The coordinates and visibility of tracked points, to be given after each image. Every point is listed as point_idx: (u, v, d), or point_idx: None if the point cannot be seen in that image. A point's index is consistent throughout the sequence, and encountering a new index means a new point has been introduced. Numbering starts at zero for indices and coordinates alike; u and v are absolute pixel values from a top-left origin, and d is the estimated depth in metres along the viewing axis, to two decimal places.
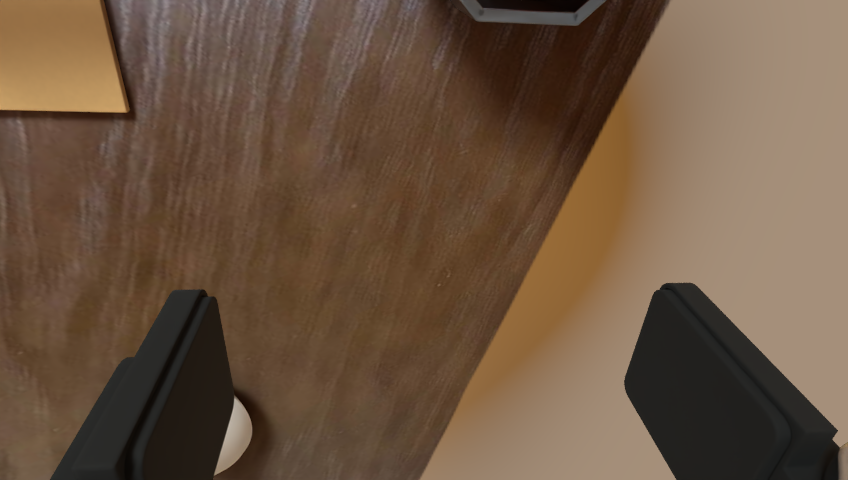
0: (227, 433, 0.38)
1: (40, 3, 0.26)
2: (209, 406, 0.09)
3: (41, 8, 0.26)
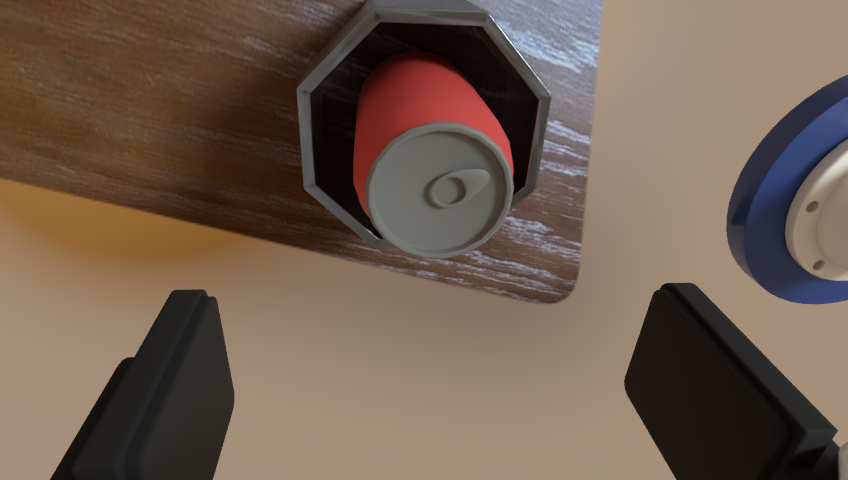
0: None
1: None
2: (209, 406, 0.09)
3: None
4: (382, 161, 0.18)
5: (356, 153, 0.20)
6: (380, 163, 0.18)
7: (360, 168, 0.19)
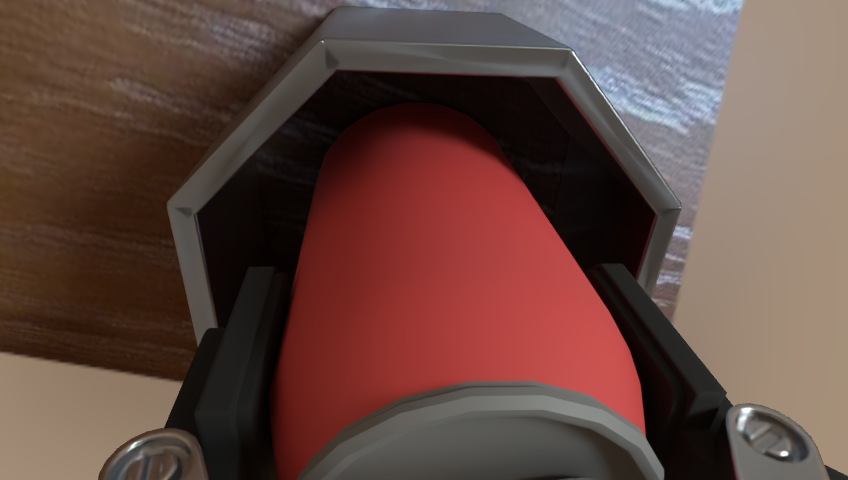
0: None
1: None
2: None
3: None
4: None
5: (272, 391, 0.08)
6: None
7: (275, 446, 0.08)
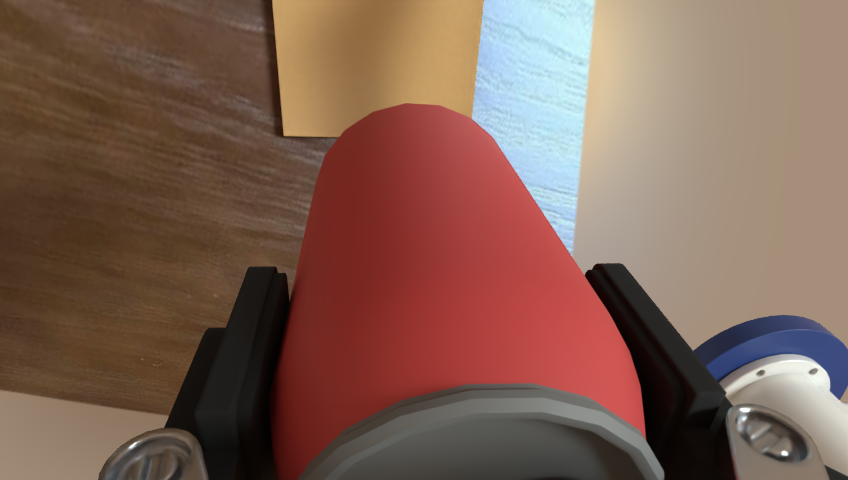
0: None
1: (371, 92, 0.31)
2: None
3: (368, 92, 0.31)
4: None
5: (273, 393, 0.08)
6: None
7: (275, 448, 0.08)
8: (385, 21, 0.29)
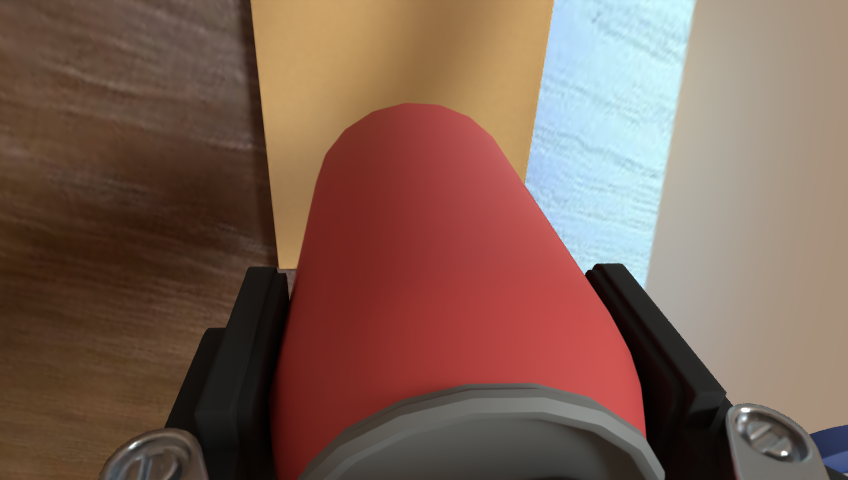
0: None
1: None
2: None
3: None
4: None
5: (272, 393, 0.08)
6: None
7: (275, 448, 0.08)
8: None
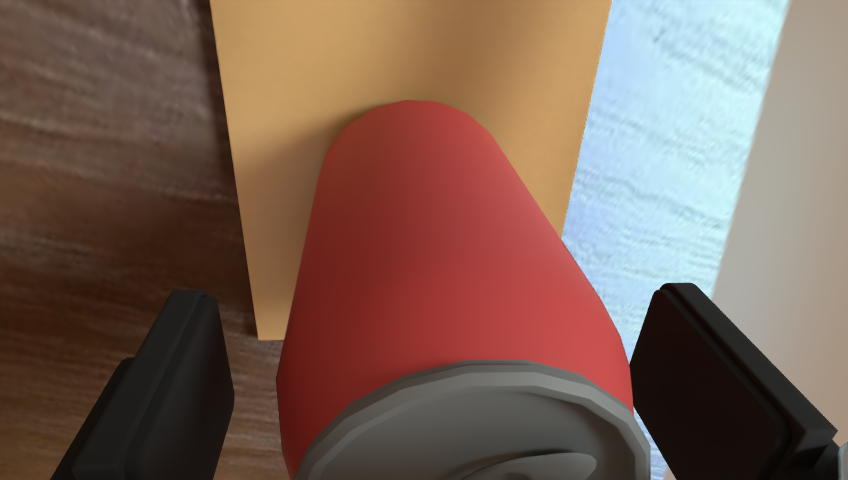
0: None
1: None
2: (209, 406, 0.09)
3: None
4: (327, 460, 0.07)
5: (280, 374, 0.09)
6: (324, 464, 0.07)
7: (284, 425, 0.08)
8: None
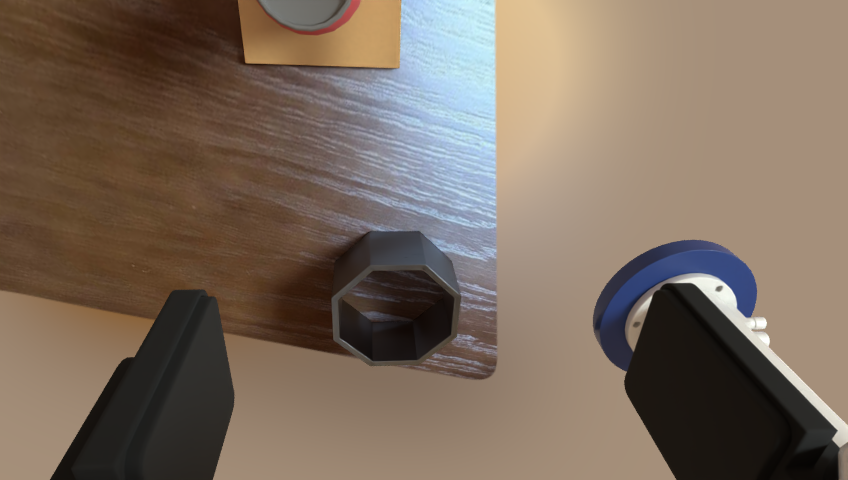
0: None
1: None
2: (209, 406, 0.09)
3: None
4: None
5: None
6: None
7: None
8: None
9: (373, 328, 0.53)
